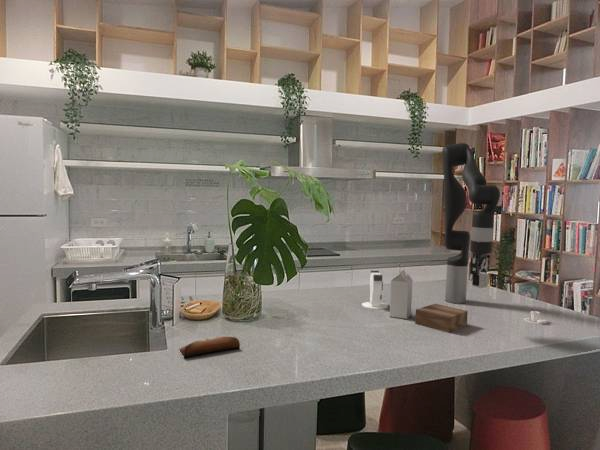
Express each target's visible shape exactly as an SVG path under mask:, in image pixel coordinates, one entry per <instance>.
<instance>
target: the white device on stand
mask: <svg viewBox="0 0 600 450" xmlns="http://www.w3.org/2000/svg"><path fill="white" fill-rule="evenodd" d="M383 284H384V283H383V274H382V273H380V271H379V270H370V277H369V301H366V302H362V303H361V307H363V308H365V309H369V310H370V309H371V310H385V309H387V308H388V307H389V305H388V304H386V303H384V302H381V301H382V299H383V298H382V297H383V296H382V291H383V290H384V285H383Z"/></svg>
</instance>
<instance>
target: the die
mask: <svg viewBox="0 0 600 450" xmlns="http://www.w3.org/2000/svg"><path fill="white" fill-rule="evenodd" d="M479 276H480V278H479V286H474V285H472V282H473V275H472V274H470V275H469V282H470V285H471V286H472V287H474V288H478V289H479V288H480V289H484V288H487V287H488V286H489V284H490V282H491V281H490V279H491V278H490V276H489V274H488V272H487V273H484V272H480V275H479Z"/></svg>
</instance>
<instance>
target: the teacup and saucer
mask: <svg viewBox="0 0 600 450" xmlns="http://www.w3.org/2000/svg"><path fill="white" fill-rule="evenodd" d="M529 313H530V316H531V317H526V318H524V321H526V322H528V323H532V324H538V325H544V324H545V325H546V324H547V323H548V320H546V319H541V318H540V314H541V312H540V311H536V310H532V311H530V312H529ZM530 320H531V321H530Z"/></svg>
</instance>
